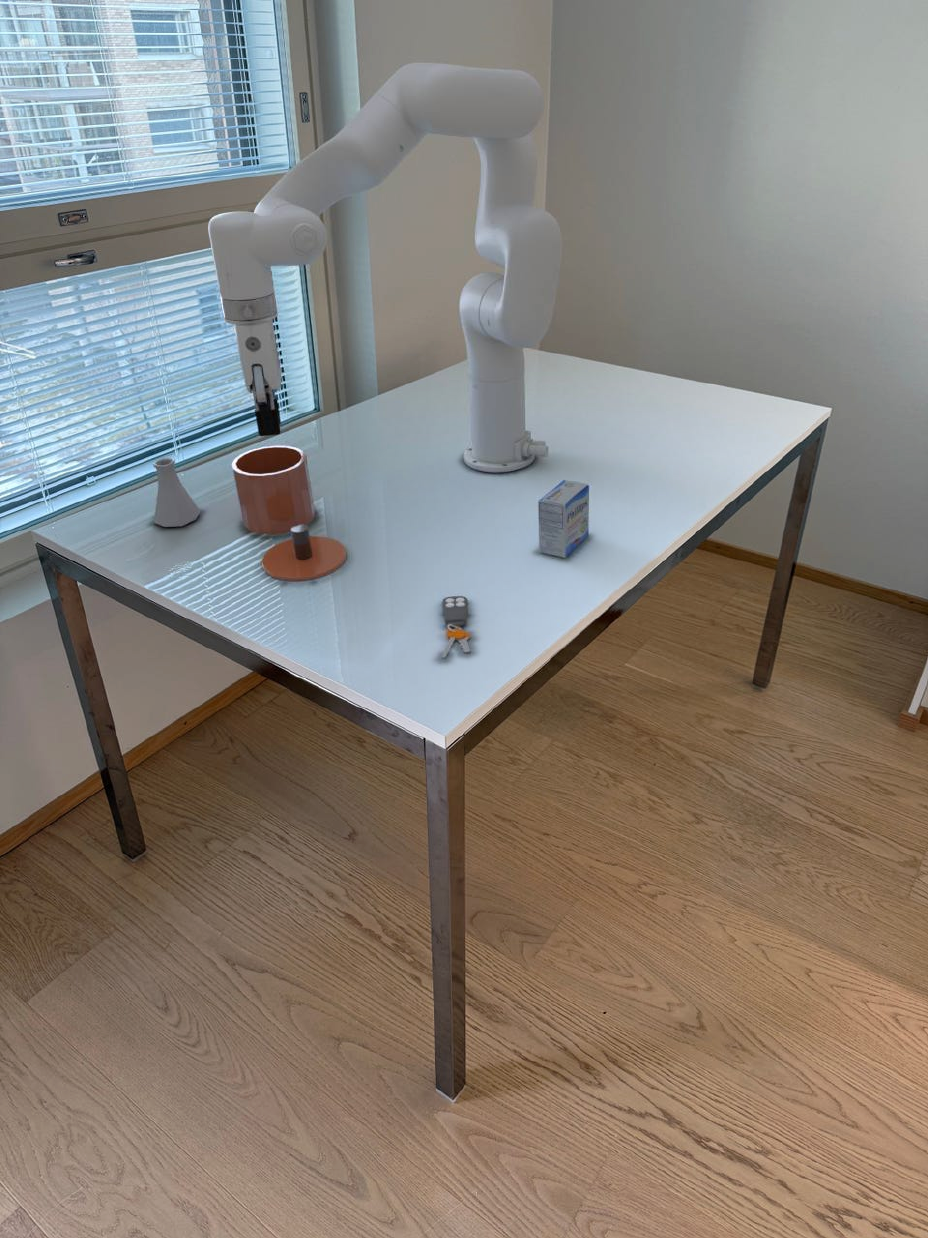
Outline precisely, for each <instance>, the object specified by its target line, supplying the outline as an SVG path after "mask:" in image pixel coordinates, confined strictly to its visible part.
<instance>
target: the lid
mask: <svg viewBox="0 0 928 1238" xmlns="http://www.w3.org/2000/svg"><path fill="white" fill-rule="evenodd" d="M310 534H311V533H310V528H309V526H308V524H307V525H304V524H299V525H295V526H293V527H292V528H291V532H290V535H291V539H290V538H289V539H287V540H284V541H281V542H279V543H277V544H275V545H274V546H272V547H271V548H268V550H267V551H266V552H265V553H264V555H263V556H262V558H261V566H262V567H261V568H262V569H263V571H264V573H266V574H267V575H268V576H270V577H271V578H274V579H277V580H281V581H289V582H300V581H301V582H302V581H303V582H304V581H309V580H314V579H318V578H322V577H325V576H327V575H329V574H331V573H333V572H335V571H337V570H338V569H339V568H341V567H342V566H343V564H344V563H345V561H346V559H347V548H346V547H345V545H344V544H343V543H341V542H340V541H338V539H334V538H331V537H326V536H319V535H310Z"/></svg>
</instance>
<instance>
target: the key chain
mask: <svg viewBox="0 0 928 1238" xmlns="http://www.w3.org/2000/svg"><path fill="white" fill-rule="evenodd" d="M441 605H442V612H443V618H444V623H445V625H447V631H446V634H445V635H446V637H447V638H449V640H448V643H447V644H446V646H445V648H444V650H443V652H442V655H441V659H445V658H446V657H447V655H448V654H449V652H450V651H451V648H452V647H453V645H454V642H455V641H457V642H458V643H459V647H461V649H462V652H463V653H470V652H471V649H470V646H469V643H468V640H469V639H471V634H470V633H469V632H468V631H464V630H463V629H462V627H463V626H464V625H466V624H467V621H468V608H469V601H468V598H467V597H466V596H463V595H454V596H453V595H452V596H447V597H444V598H442V601H441Z"/></svg>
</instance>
